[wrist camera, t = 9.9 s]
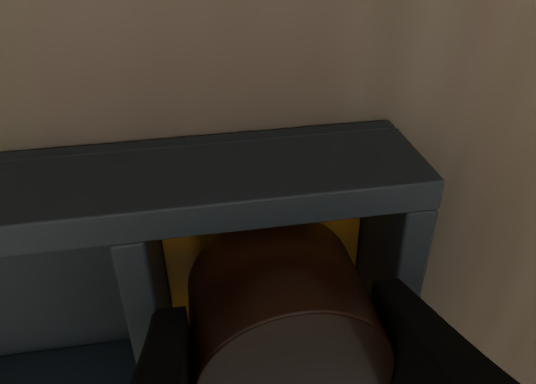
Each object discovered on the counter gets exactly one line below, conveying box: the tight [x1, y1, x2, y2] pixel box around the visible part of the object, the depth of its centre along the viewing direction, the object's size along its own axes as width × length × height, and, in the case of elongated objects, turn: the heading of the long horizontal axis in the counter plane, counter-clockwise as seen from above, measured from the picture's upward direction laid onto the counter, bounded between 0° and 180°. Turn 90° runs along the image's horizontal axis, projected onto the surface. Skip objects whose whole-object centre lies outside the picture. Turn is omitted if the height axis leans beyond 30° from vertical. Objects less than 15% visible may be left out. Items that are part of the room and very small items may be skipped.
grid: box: [0, 120, 445, 384], centre depth 13 cm, size 12×12×3 cm
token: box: [188, 222, 395, 384], centre depth 11 cm, size 4×4×3 cm
